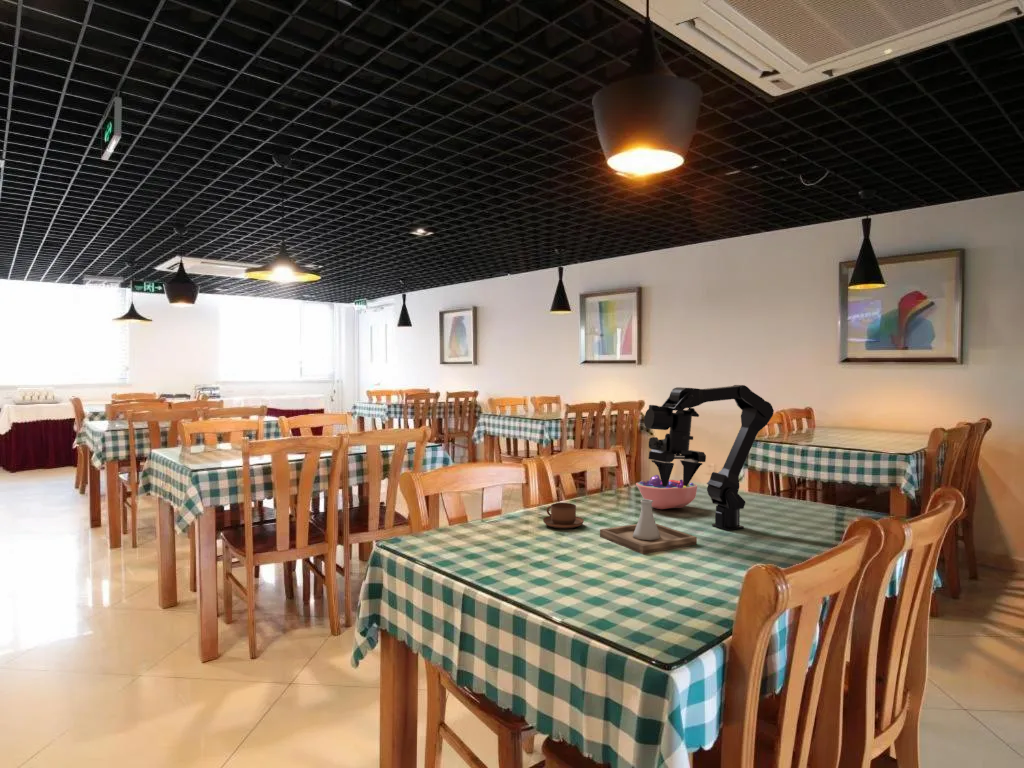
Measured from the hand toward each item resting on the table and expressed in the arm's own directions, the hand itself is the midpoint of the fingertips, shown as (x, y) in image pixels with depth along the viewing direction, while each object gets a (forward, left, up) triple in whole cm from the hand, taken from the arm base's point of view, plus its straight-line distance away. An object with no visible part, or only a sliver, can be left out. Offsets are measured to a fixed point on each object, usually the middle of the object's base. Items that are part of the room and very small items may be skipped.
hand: (675, 486), depth 171 cm
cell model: (-18, -23, -13) cm, 32 cm away
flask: (+13, +4, -12) cm, 18 cm away
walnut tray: (+13, +4, -13) cm, 19 cm away
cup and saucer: (+25, -20, -13) cm, 35 cm away
